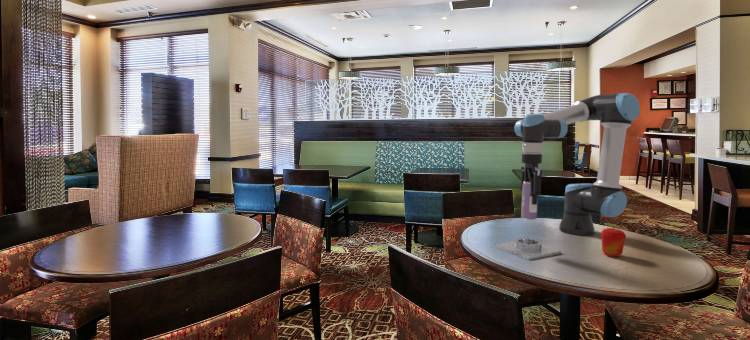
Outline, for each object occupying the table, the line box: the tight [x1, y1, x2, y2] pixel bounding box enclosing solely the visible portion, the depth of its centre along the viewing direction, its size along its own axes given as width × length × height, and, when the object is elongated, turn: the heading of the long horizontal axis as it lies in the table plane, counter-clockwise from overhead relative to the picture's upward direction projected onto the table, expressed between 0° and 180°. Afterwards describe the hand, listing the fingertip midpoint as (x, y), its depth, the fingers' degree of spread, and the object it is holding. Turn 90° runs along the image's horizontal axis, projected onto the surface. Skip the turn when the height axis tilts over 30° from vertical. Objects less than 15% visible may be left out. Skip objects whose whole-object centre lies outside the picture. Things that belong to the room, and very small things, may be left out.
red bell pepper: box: [600, 226, 627, 258], centre depth 161 cm, size 9×8×12 cm
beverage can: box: [520, 181, 539, 221], centre depth 166 cm, size 6×6×15 cm
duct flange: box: [494, 237, 563, 261], centre depth 168 cm, size 18×18×4 cm
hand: (529, 210), depth 166 cm, fingers closed on beverage can, 6 cm apart
